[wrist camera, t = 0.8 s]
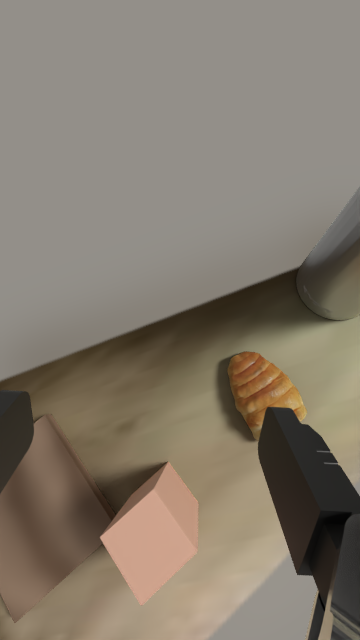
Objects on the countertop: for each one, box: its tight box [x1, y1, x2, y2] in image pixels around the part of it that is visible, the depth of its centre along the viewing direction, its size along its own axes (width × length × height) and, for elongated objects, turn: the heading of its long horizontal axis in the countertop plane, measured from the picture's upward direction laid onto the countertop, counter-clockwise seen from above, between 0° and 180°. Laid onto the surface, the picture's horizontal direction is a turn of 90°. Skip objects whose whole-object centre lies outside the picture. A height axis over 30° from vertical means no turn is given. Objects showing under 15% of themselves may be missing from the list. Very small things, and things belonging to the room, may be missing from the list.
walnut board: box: [0, 414, 116, 623], centre depth 29 cm, size 12×14×2 cm
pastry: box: [227, 352, 307, 441], centre depth 30 cm, size 9×7×4 cm
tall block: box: [100, 462, 198, 606], centre depth 25 cm, size 5×5×10 cm
